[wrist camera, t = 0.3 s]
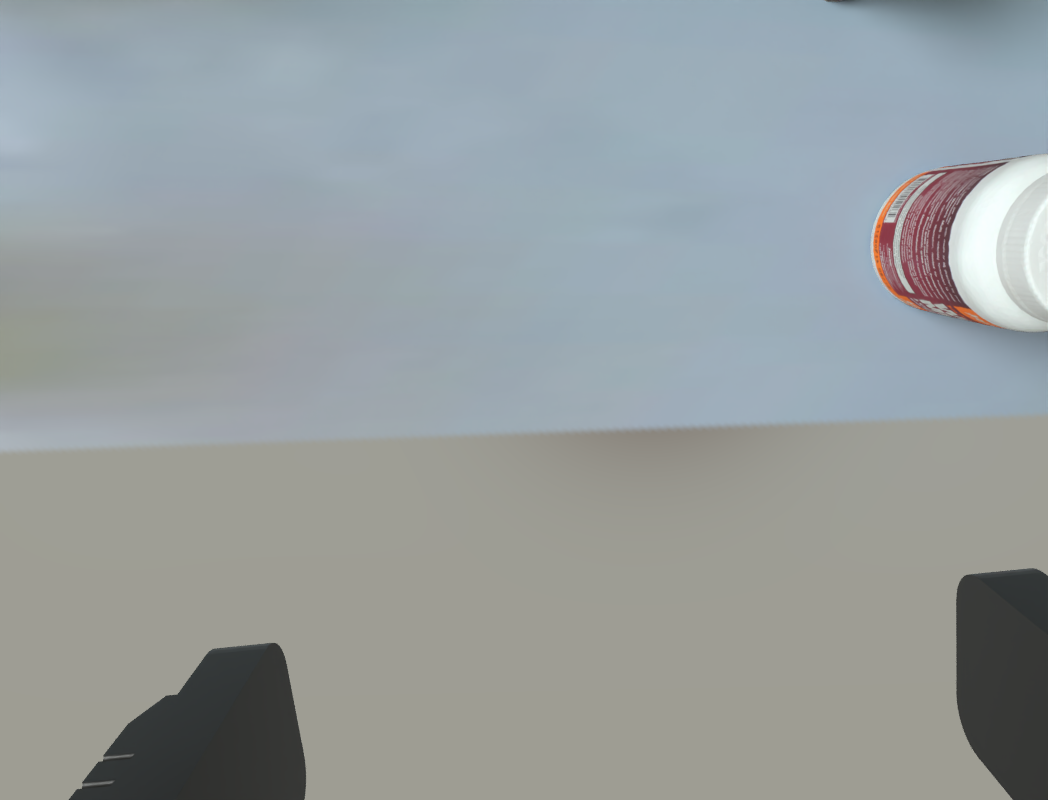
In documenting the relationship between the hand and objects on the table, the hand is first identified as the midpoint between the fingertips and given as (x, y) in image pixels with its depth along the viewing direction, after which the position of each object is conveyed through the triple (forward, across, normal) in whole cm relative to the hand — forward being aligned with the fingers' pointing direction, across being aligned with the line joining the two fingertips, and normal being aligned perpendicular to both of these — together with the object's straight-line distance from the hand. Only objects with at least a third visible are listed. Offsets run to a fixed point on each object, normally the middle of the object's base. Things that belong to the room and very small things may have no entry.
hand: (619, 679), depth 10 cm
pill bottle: (+29, -17, -2) cm, 34 cm away
